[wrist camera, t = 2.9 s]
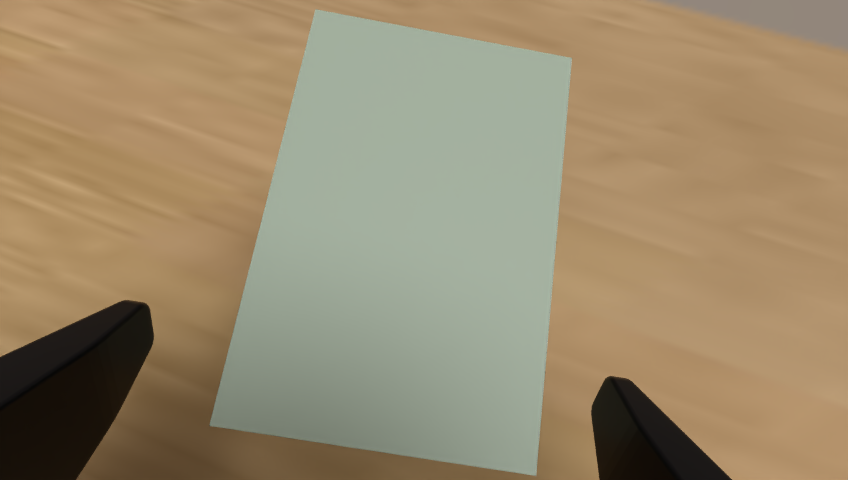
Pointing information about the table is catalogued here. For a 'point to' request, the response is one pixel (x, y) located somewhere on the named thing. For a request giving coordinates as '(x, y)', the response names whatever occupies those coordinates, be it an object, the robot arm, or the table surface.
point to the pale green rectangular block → (406, 250)
